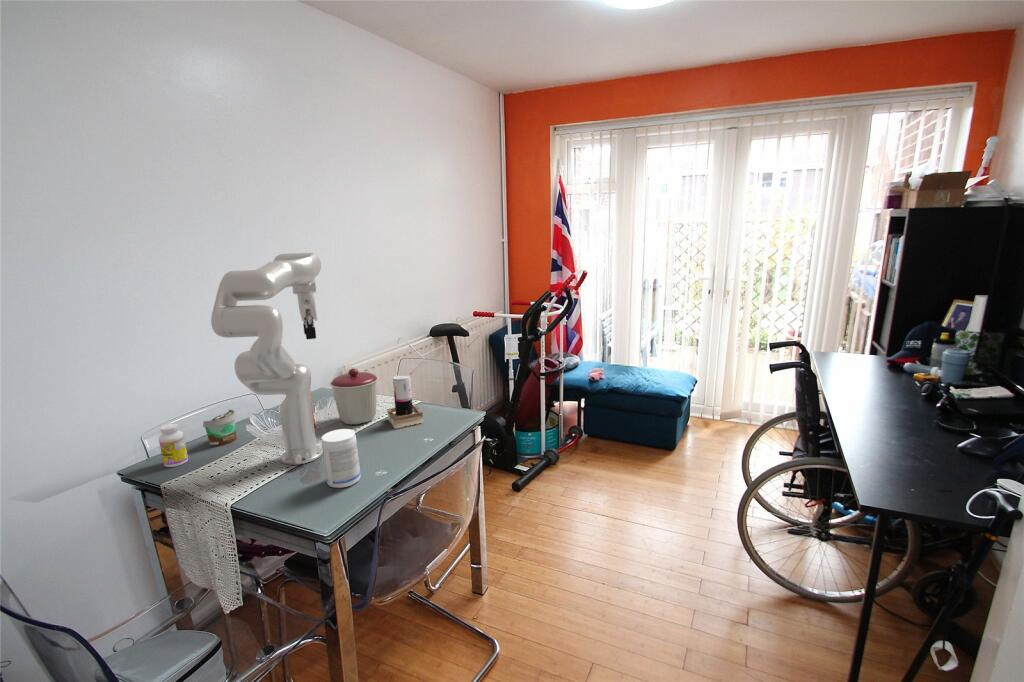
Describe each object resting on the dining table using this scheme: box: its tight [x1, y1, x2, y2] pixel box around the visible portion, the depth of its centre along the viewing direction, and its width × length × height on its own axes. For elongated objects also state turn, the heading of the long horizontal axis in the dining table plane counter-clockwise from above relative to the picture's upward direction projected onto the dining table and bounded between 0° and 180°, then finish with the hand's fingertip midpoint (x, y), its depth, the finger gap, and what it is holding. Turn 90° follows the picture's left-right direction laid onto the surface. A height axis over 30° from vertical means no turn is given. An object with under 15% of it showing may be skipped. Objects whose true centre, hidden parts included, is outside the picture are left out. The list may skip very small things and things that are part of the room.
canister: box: [329, 368, 379, 425], centre depth 185 cm, size 18×18×21 cm
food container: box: [202, 408, 238, 447], centre depth 169 cm, size 12×6×10 cm, turn 168°
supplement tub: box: [320, 428, 362, 489], centre depth 138 cm, size 10×10×15 cm
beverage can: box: [392, 374, 413, 416], centre depth 182 cm, size 7×7×15 cm
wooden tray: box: [387, 403, 424, 430], centre depth 184 cm, size 11×11×4 cm
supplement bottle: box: [158, 423, 189, 468], centre depth 153 cm, size 7×7×13 cm
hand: (310, 336), depth 170 cm, fingers open, 9 cm apart
